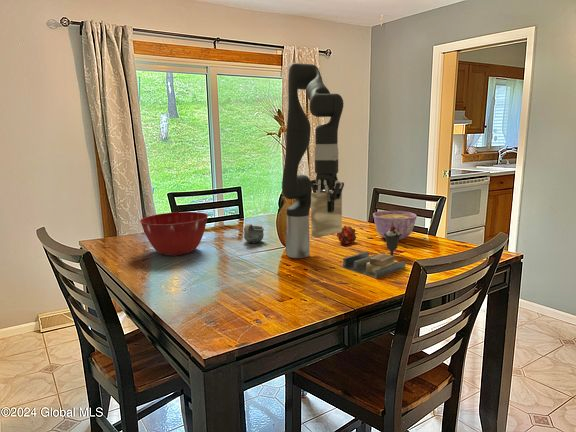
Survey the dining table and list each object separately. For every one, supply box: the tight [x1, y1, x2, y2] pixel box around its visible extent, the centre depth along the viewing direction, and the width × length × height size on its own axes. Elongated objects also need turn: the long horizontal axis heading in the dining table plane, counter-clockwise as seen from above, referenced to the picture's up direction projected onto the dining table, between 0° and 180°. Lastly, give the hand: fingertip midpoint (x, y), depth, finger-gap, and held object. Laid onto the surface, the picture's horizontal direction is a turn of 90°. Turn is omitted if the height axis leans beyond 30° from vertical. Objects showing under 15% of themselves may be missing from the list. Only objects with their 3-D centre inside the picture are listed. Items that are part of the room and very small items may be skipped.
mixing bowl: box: [139, 211, 209, 256], centre depth 182 cm, size 28×28×15 cm
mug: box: [243, 223, 265, 244], centre depth 194 cm, size 10×12×10 cm
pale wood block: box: [310, 190, 343, 238], centre depth 137 cm, size 3×11×14 cm, turn 129°
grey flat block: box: [366, 259, 399, 274], centre depth 148 cm, size 6×10×3 cm, turn 129°
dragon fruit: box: [336, 225, 357, 246], centre depth 191 cm, size 8×8×12 cm
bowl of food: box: [372, 210, 418, 241], centre depth 198 cm, size 20×20×12 cm
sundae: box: [384, 223, 401, 257], centre depth 165 cm, size 7×7×15 cm
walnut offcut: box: [370, 253, 395, 267], centre depth 147 cm, size 5×8×2 cm, turn 137°
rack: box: [339, 251, 406, 279], centre depth 152 cm, size 17×16×4 cm
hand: (326, 211), depth 137 cm, fingers closed on pale wood block, 3 cm apart
